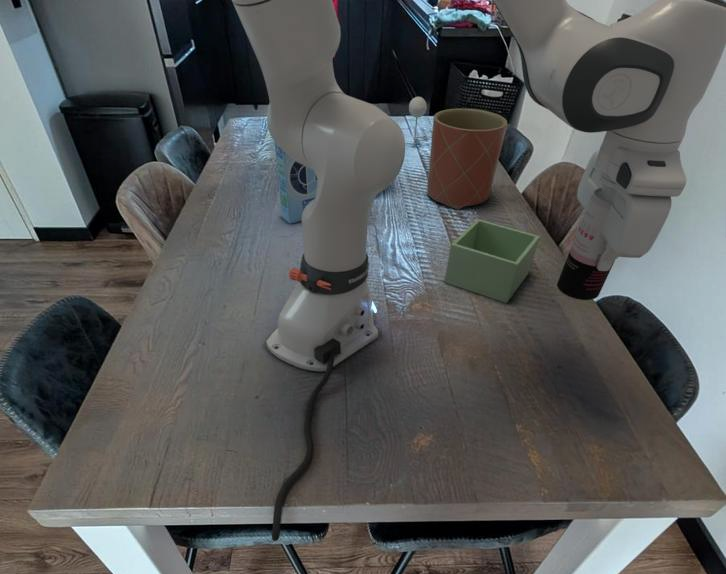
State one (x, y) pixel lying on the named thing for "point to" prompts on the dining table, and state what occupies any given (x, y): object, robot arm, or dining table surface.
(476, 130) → the planter
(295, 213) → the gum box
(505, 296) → the basket
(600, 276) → the beverage can
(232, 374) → the dining table surface
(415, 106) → the lollipop
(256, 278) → the dining table surface
